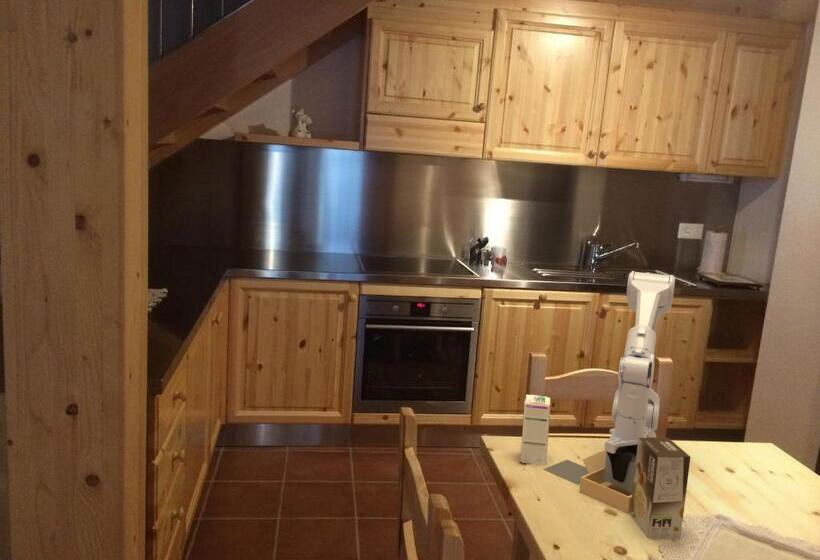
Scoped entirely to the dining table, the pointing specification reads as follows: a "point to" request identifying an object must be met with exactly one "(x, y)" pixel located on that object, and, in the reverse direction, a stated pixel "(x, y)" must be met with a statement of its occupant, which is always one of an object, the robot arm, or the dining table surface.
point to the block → (628, 479)
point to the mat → (568, 471)
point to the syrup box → (535, 429)
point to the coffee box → (659, 488)
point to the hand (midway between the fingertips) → (624, 477)
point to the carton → (603, 484)
